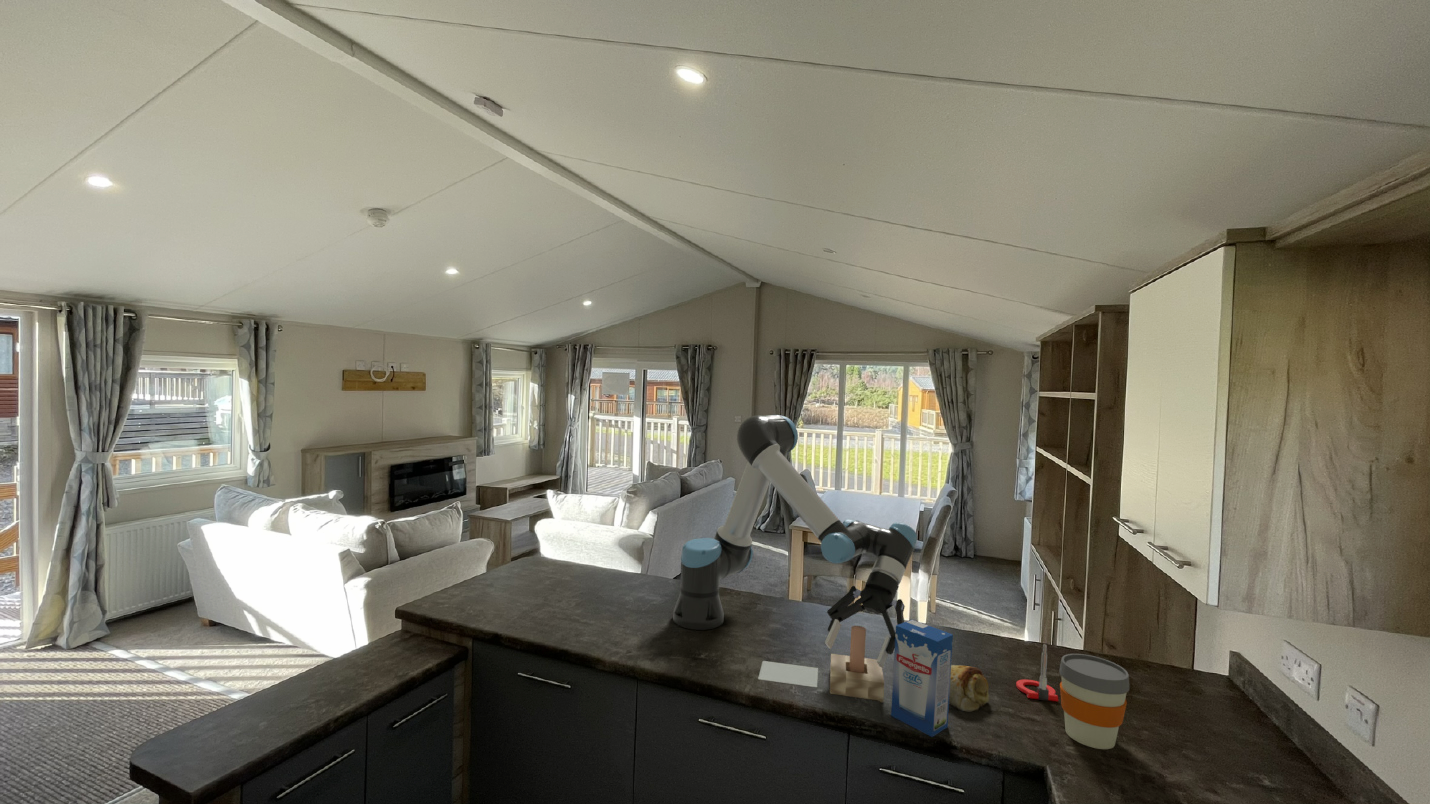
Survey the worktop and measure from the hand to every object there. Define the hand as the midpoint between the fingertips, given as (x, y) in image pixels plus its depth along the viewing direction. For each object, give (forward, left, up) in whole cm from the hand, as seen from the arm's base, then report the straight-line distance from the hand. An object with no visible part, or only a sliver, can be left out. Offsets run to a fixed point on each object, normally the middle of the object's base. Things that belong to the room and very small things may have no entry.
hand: (852, 655), depth 143 cm
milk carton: (+14, -10, -8) cm, 19 cm away
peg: (+1, +2, -8) cm, 8 cm away
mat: (-15, +3, -8) cm, 17 cm away
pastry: (+25, +4, -9) cm, 27 cm away
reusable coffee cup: (+49, -6, -8) cm, 50 cm away
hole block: (+1, +2, -8) cm, 8 cm away
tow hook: (+44, +12, -9) cm, 46 cm away
